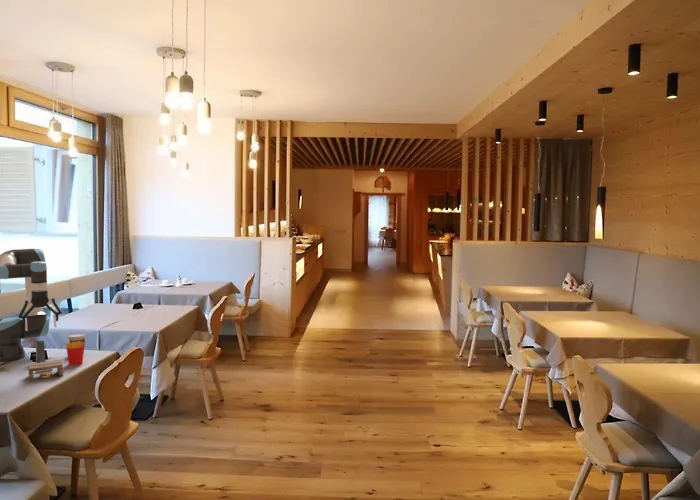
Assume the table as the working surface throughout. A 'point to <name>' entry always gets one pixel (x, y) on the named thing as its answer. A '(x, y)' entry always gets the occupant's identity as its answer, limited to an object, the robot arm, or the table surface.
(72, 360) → the french fries
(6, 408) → the table surface
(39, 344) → the steel scraper
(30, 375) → the walnut bench
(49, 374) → the brass disc
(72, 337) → the disposable coffee cup
